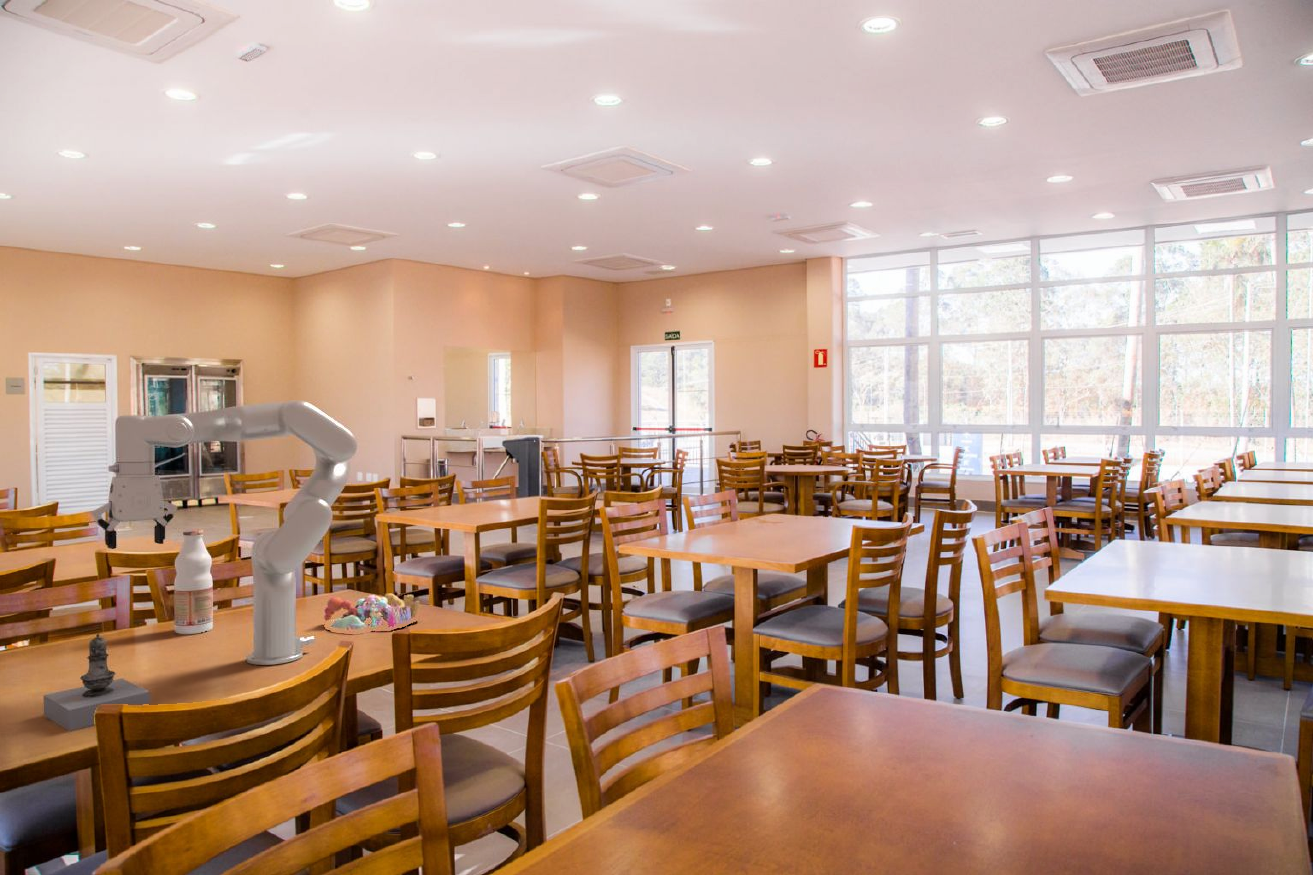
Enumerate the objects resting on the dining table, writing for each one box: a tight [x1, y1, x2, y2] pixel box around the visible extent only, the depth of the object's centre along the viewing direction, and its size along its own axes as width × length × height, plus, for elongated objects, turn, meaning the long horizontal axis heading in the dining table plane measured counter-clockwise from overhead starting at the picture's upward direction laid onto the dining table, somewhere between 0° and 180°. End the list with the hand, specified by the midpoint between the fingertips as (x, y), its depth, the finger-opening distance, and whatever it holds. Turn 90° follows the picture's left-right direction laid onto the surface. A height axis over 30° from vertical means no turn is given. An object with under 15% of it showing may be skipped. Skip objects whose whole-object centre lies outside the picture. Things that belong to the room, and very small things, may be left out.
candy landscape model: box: [323, 593, 421, 630], centre depth 244 cm, size 25×24×9 cm
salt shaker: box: [80, 632, 117, 697], centre depth 169 cm, size 6×6×12 cm
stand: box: [43, 678, 151, 732], centre depth 169 cm, size 14×14×4 cm
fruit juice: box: [173, 529, 214, 635], centre depth 235 cm, size 9×9×28 cm
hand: (135, 545), depth 191 cm, fingers open, 9 cm apart
